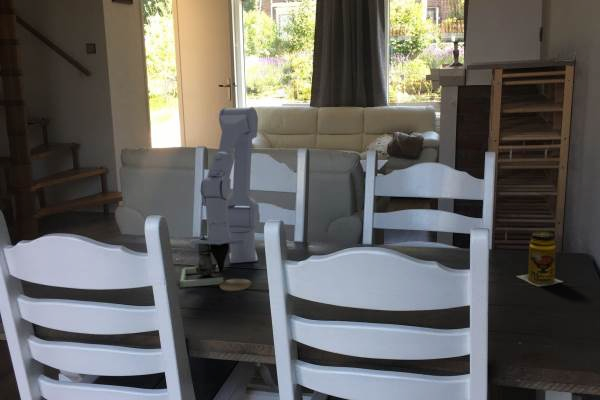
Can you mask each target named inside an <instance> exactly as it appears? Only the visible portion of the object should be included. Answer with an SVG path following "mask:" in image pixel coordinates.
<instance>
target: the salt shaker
mask: <svg viewBox="0 0 600 400" xmlns="http://www.w3.org/2000/svg"><path fill="white" fill-rule="evenodd" d="M204 237H205V235H204V234H202V236H201V237H200V238H201V239H200V240H199V241H201V240H202V241H208V240H207V238H204ZM198 245H199V247H198V251H197V254H198V259H199V260H198V263H196V264H195V265H194V267H195V268H196V271H197V273H196V274H198V276H197V277H196V279H209V278H217V275H216V274H214V273H215V272H214V271H215V269H216V266H217V262H213V261H212V257H211V251H210V246H209V244H198Z"/></svg>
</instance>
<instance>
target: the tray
mask: <svg viewBox="0 0 600 400" xmlns="http://www.w3.org/2000/svg"><path fill="white" fill-rule="evenodd" d="M215 272H217V273H218V272H219V268H218V265H216V269H215V271H214V273H215ZM190 274H198V273H197V271H196V268H195V267H193V266H192V267H191V266H190V267H182V270H181V274H180V281H179V285H180V288H186V287H187V288H189V287H200V286H211V285H220V283H222V282H223V281H224V277H223V276H222V277H216V278H209V279H197V278H196V279H188V280H186V276H187V275H190Z"/></svg>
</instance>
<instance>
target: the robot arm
mask: <svg viewBox="0 0 600 400" xmlns="http://www.w3.org/2000/svg"><path fill="white" fill-rule="evenodd" d="M218 122H219V126H220V129H221V136H220V142H219V146H218V152H216V153H214V154H213V155H212V159H211V162H210V165H209V169H208V173H207V176H206V177H205V178H203V179H202V180H201V182H200V195H201V198H202V202H203V203H202V204H203V205H204V206H205V215H206V228H207V230H206V231H207V236H206V237H205V236H204V238H207V240H208V241H202V240H201V241H199V240H200V239H201V238H202V237H200V238H191V239H190V244H191V248H192V249H193V248H195V249H196V248H199V245H198V244H209V246H210V251H211V252H210V254H212V255H213V258H214V259H215V263H216V264H217V265H218V268H219V271H218V272H219V273H223V272H224V267H225V263H226V262H225V261H226V258H227V255H228V252H229V250H230V252H229V263H230V264H239V263H241V264H242V263H252V262H258V254H257V251H256V239H255V229H257V228H258V226H259V224H260V217H261V215H260V209H259V208H260V207H259V203H258V202H257V201H256V200H255V199H254V198H252V196H250V193H251V173H252V172H251V171H252V146H253V140H254V139H256V138H257V137H258V129H259V128H258V127H259V125H258V124H259V123H258V122H259V116H258V114H257V109H255V107H253V106H250V107H222V108H221V110H220V111H219V115H218ZM233 153H234V157H232V155H233ZM232 170H233V177H232V178H233V181H232V182H231V180H232V179H231V175H232ZM231 183H232V196H230V195H231ZM217 265H216V266H217Z"/></svg>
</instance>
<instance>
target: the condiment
mask: <svg viewBox="0 0 600 400" xmlns="http://www.w3.org/2000/svg"><path fill="white" fill-rule="evenodd" d="M530 237H531V238H530V243H529V246H528V247H529V248H528V271H527V272H528V274H522V275H516V278H518V279H521V280H523V281H525V282H527V283H529V284H532V285H534V286H536V287H544V286H550V285H555V284H559V283H563V282H564V281H563V280H560V279H557V278H556V277H555V276H556V272H555V271H556V253H557V252H556V251H557V247H556V244H555V235H554V233H552V232H546V231H536V232H533V233H531V234H530Z"/></svg>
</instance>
